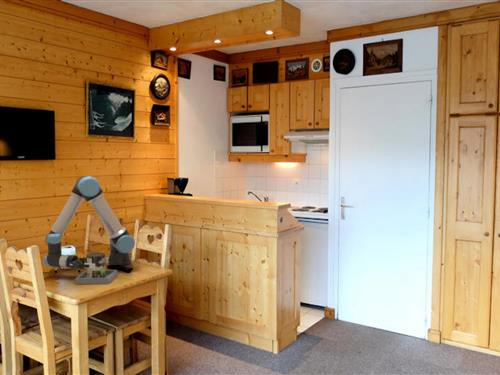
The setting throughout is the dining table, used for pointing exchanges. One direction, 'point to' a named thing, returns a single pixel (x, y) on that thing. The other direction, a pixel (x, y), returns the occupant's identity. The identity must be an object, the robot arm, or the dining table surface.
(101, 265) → the coffee can
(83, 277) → the tray
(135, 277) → the dining table surface
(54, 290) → the dining table surface
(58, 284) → the dining table surface
